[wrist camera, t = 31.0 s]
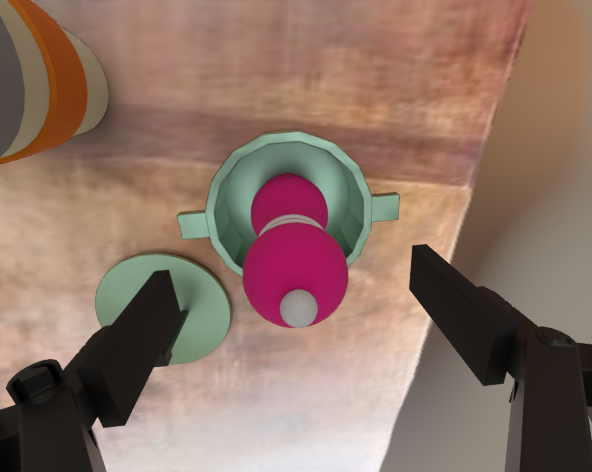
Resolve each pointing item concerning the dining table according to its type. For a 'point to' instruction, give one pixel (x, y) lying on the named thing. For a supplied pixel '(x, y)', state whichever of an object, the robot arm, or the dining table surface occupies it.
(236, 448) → the dining table surface
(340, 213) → the pot
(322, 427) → the dining table surface
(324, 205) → the pepper mill
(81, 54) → the reusable coffee cup
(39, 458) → the robot arm
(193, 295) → the lid
